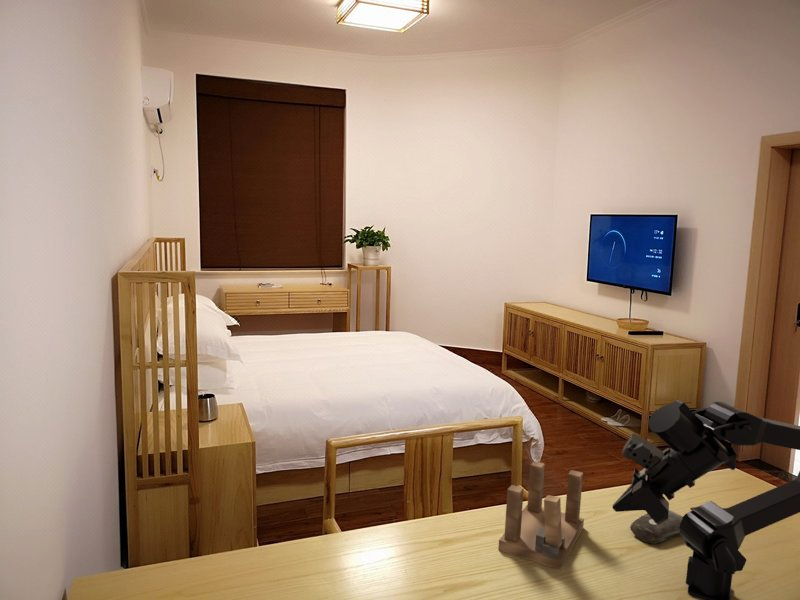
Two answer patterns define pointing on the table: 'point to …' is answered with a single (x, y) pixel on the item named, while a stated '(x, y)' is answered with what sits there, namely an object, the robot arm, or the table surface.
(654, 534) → the stone
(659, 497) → the robot arm
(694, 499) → the table surface
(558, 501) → the folding leg
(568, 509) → the stool seat
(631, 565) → the table surface
